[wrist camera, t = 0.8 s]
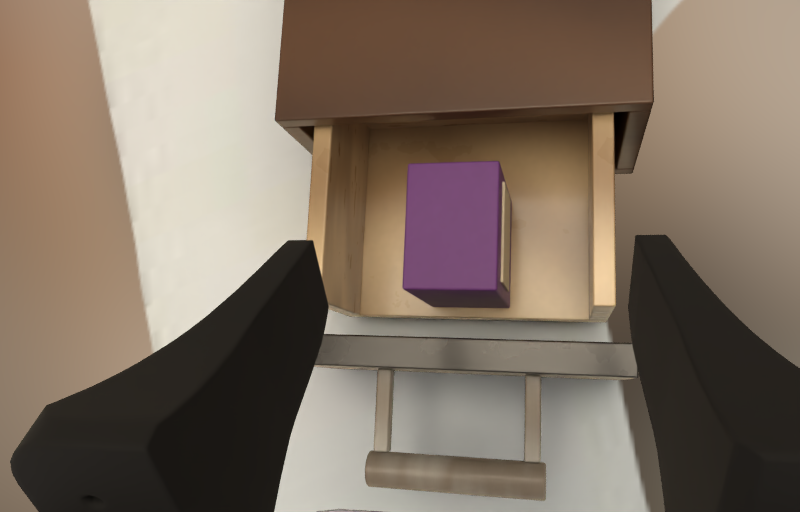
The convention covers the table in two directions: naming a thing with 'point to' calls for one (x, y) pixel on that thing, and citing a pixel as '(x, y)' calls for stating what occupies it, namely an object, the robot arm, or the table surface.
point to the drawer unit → (466, 63)
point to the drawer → (529, 301)
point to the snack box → (458, 234)
